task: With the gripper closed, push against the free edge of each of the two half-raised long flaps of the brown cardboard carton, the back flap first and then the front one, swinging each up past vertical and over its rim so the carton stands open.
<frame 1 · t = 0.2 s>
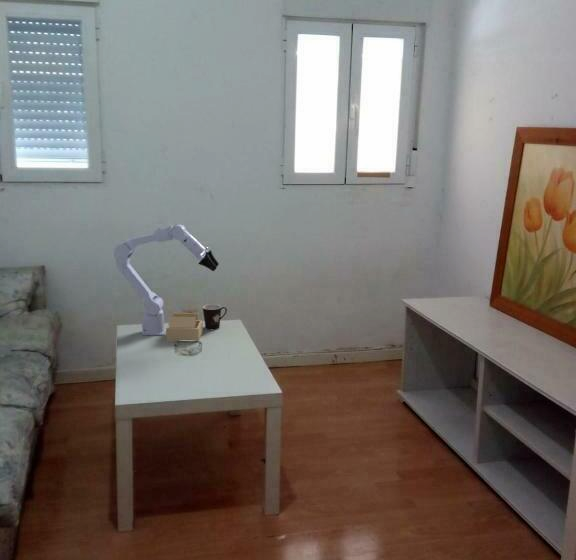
hand: (216, 267, 279), 30 cm above the table, tool tilted 45°, fingers open, 7 cm apart
flap far: (185, 316, 284), point 8 cm above the table, hinge at 55.0°
coffee mug: (215, 327, 295), on the table
flap near: (182, 322, 276), point 8 cm above the table, hinge at 55.0°
carton: (184, 337, 282), on the table
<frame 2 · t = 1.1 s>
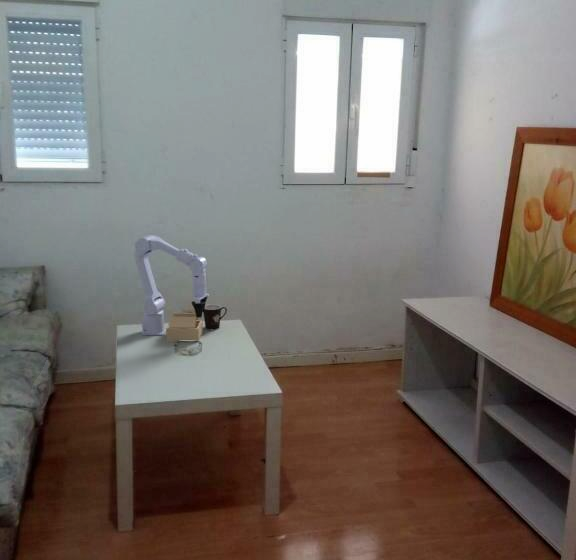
hand: (200, 314, 279), 11 cm above the table, tool pointing down, fingers open, 7 cm apart
nothing on the table moved.
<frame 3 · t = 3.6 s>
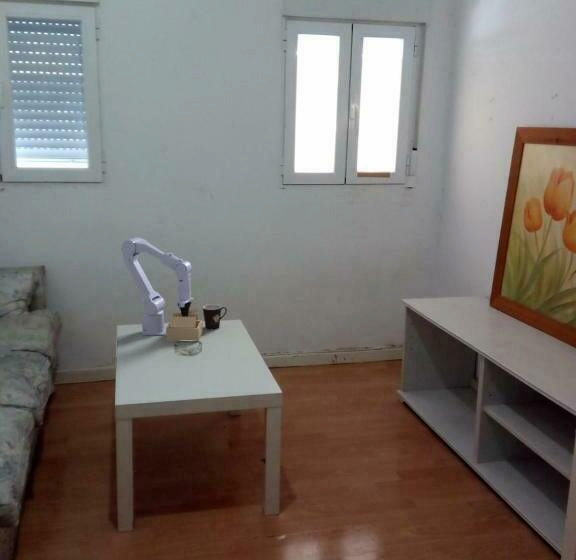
hand: (185, 318, 282), 8 cm above the table, tool pointing down, fingers closed, pressing on flap far
flap far: (185, 316, 284), point 8 cm above the table, hinge at 55.4°, touching gripper
everything else where it was.
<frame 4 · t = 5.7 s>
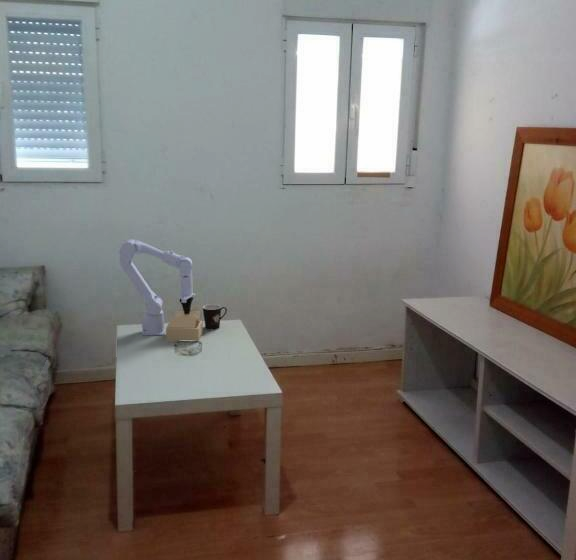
hand: (186, 313, 287), 9 cm above the table, tool pointing down, fingers closed
flap far: (187, 315, 287), point 8 cm above the table, hinge at 142.5°
everything else where it was.
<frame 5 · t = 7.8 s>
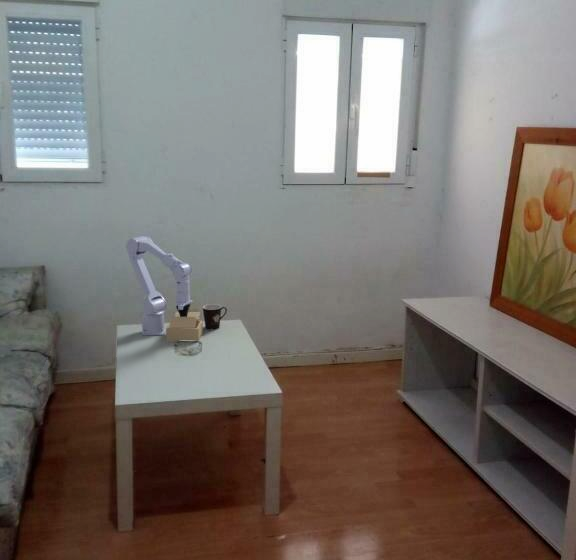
hand: (183, 320, 278), 8 cm above the table, tool pointing down, fingers closed, pressing on flap near
flap far: (187, 315, 287), point 7 cm above the table, hinge at 153.0°
flap near: (182, 322, 276), point 8 cm above the table, hinge at 55.0°, touching gripper
everything else where it was.
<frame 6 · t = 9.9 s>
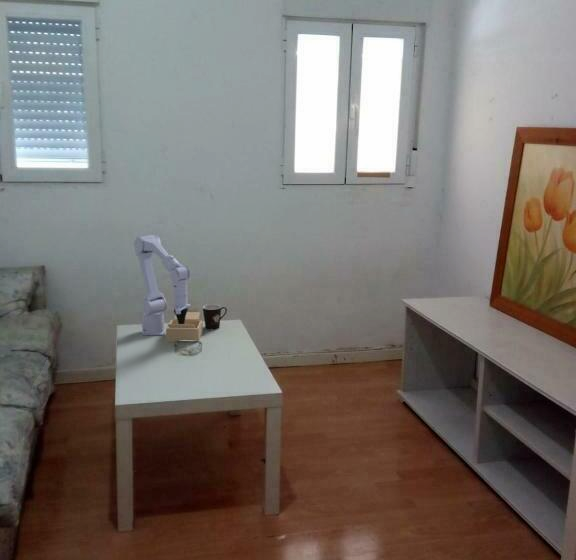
hand: (181, 325, 273), 8 cm above the table, tool pointing down, fingers closed
flap far: (187, 315, 287), point 7 cm above the table, hinge at 154.0°
flap near: (181, 326, 272), point 8 cm above the table, hinge at 144.3°, touching gripper
everything else where it was.
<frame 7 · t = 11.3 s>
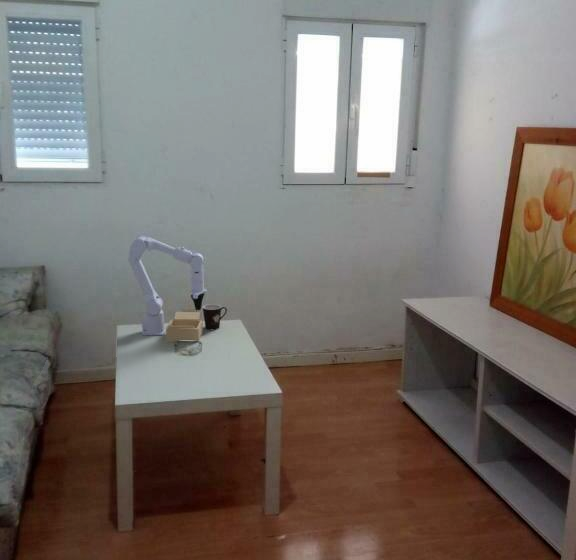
hand: (198, 309, 286), 11 cm above the table, tool pointing down, fingers closed
flap near: (181, 326, 272), point 7 cm above the table, hinge at 152.2°
everything else where it was.
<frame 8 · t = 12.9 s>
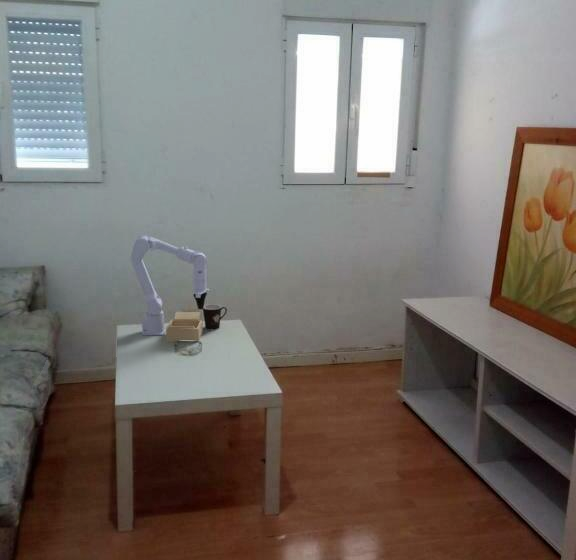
hand: (200, 308, 288), 10 cm above the table, tool pointing down, fingers closed
flap near: (181, 327, 272), point 7 cm above the table, hinge at 153.9°
everything else where it was.
at the end: flap far at +154° (first picture: +55°); flap near at +154° (first picture: +55°) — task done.
